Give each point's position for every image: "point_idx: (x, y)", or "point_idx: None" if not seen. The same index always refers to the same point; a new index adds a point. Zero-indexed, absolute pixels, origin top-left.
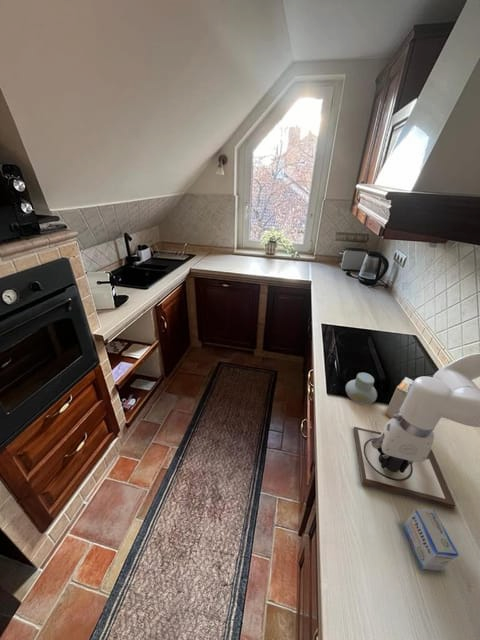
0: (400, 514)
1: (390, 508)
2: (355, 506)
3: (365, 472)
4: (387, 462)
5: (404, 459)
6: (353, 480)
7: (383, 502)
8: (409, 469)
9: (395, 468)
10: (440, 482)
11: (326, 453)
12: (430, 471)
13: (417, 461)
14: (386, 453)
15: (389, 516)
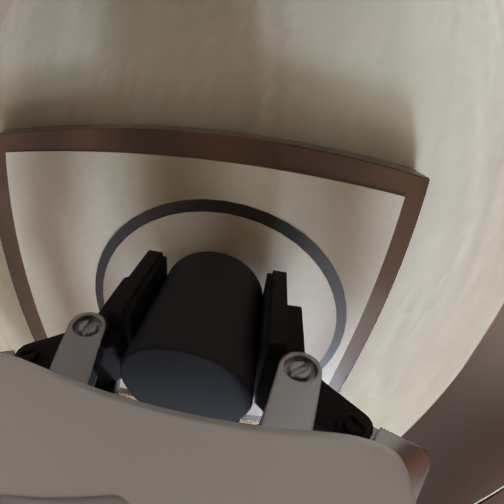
0: (244, 19)
1: (294, 42)
2: (476, 67)
3: (392, 235)
4: (265, 317)
5: (125, 357)
6: (445, 192)
7: (326, 71)
8: (110, 274)
9: (201, 275)
10: (11, 226)
11: (486, 307)
12: (35, 270)
13: (2, 365)
14: (378, 461)
15: (317, 5)
